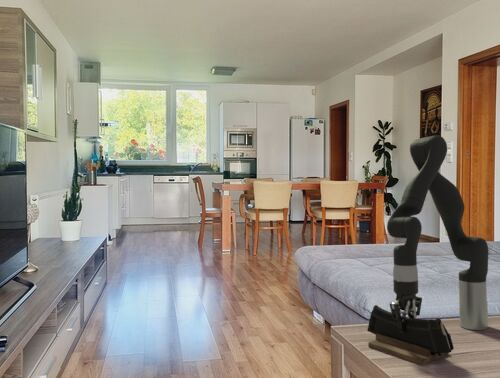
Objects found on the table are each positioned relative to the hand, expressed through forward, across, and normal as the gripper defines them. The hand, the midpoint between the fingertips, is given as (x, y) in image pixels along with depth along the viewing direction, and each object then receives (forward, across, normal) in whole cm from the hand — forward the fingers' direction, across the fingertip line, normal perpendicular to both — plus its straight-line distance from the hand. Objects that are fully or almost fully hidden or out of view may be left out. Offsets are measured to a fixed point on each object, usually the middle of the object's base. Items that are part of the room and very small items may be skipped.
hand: (406, 331), depth 148 cm
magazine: (+5, 0, 0) cm, 5 cm away
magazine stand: (+6, 0, 0) cm, 6 cm away
